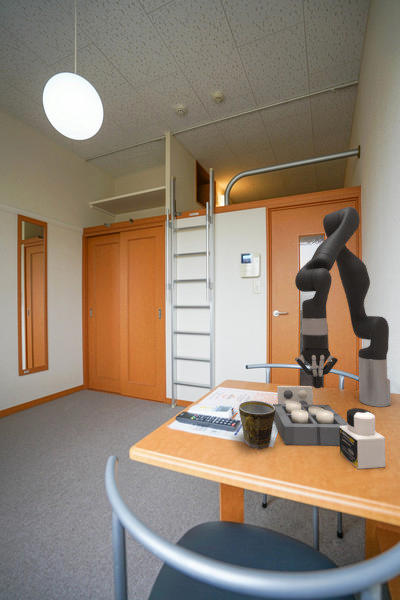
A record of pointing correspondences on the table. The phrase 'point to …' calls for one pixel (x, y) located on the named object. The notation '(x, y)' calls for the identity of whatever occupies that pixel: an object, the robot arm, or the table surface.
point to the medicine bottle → (362, 440)
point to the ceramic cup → (257, 423)
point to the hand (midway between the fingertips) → (316, 387)
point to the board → (308, 428)
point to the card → (295, 394)
